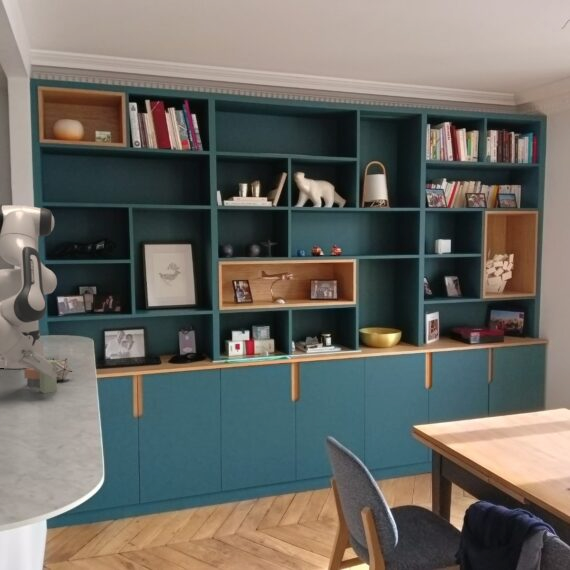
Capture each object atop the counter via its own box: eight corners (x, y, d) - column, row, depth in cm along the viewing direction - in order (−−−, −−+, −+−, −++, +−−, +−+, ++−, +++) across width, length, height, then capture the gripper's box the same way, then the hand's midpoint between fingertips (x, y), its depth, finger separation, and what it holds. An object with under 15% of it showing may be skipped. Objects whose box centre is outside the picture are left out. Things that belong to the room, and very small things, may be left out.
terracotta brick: (24, 378, 197) (24, 369, 197) (29, 376, 200) (29, 367, 200) (40, 378, 196) (40, 370, 196) (45, 376, 199) (45, 368, 199)
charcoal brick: (27, 385, 199) (27, 376, 199) (36, 384, 201) (35, 375, 201) (34, 388, 195) (34, 379, 195) (43, 386, 197) (42, 378, 197)
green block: (40, 391, 191) (39, 361, 190) (52, 389, 193) (51, 359, 193) (44, 393, 188) (43, 363, 187) (56, 391, 190) (56, 361, 190)
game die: (63, 390, 207) (81, 367, 209) (52, 387, 199) (70, 363, 201) (45, 376, 209) (63, 353, 211) (33, 373, 201) (52, 349, 203)
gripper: (36, 345, 177) (68, 372, 184) (14, 337, 192) (45, 362, 199) (21, 361, 174) (55, 388, 182) (0, 352, 189) (32, 377, 197)
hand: (49, 374), depth 191 cm, fingers open, 8 cm apart
